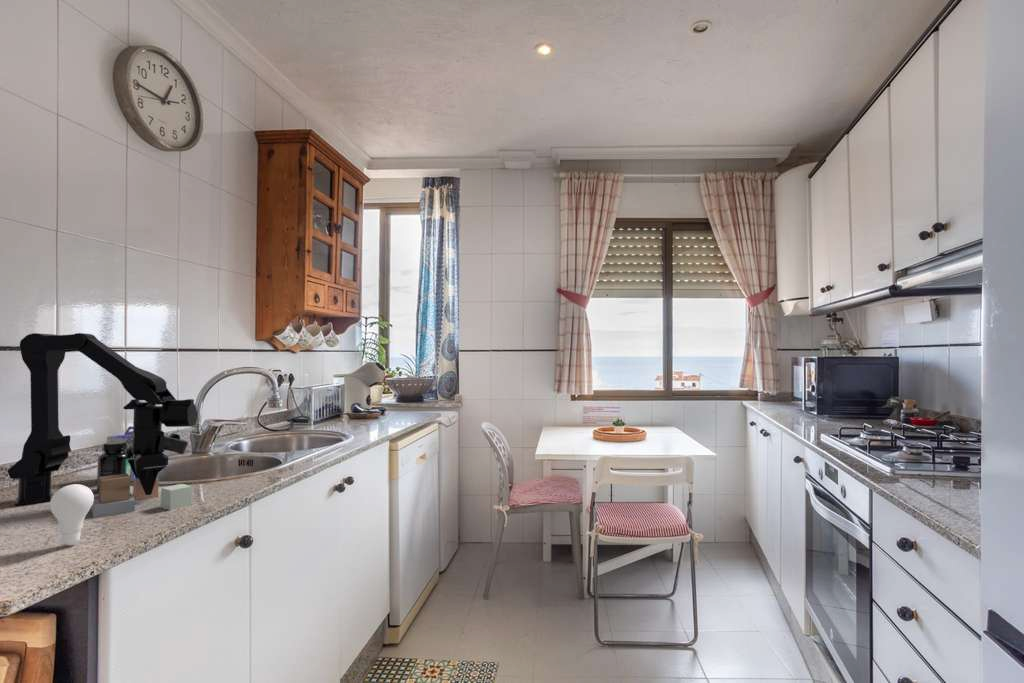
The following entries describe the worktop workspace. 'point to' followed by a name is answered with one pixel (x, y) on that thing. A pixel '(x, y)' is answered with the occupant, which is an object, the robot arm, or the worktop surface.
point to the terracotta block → (139, 492)
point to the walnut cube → (114, 488)
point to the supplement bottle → (113, 460)
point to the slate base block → (112, 507)
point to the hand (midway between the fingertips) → (145, 491)
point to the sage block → (176, 496)
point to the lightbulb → (71, 510)
